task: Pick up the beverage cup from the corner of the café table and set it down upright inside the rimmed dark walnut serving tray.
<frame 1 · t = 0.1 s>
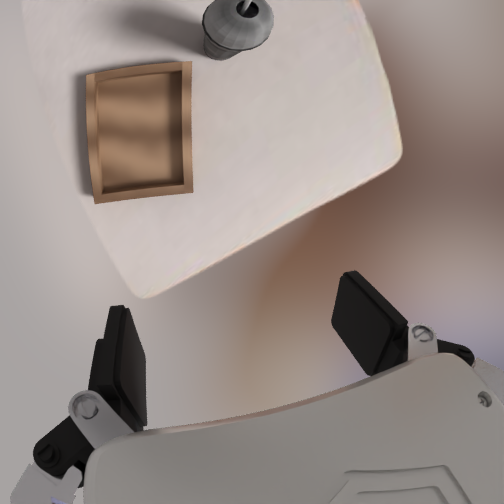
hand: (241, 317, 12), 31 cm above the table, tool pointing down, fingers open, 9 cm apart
beverage cup: (219, 46, 31), on the table
walnut tray: (140, 130, 33), on the table
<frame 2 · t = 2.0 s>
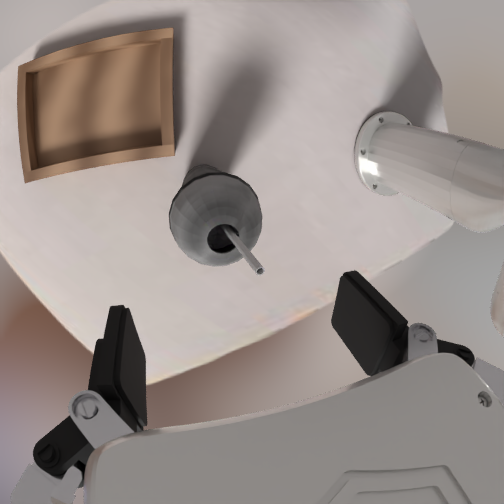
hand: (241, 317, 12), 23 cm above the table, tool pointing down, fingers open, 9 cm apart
beverage cup: (203, 183, 32), on the table
walnut tray: (94, 103, 24), on the table
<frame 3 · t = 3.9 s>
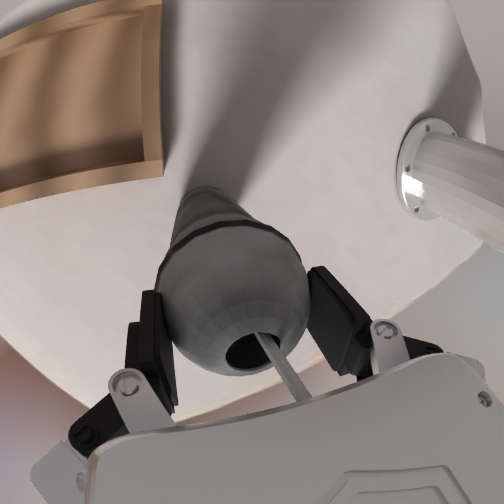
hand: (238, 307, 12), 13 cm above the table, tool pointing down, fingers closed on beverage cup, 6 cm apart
beverage cup: (204, 211, 23), on the table, touching gripper
walnut tray: (53, 103, 15), on the table
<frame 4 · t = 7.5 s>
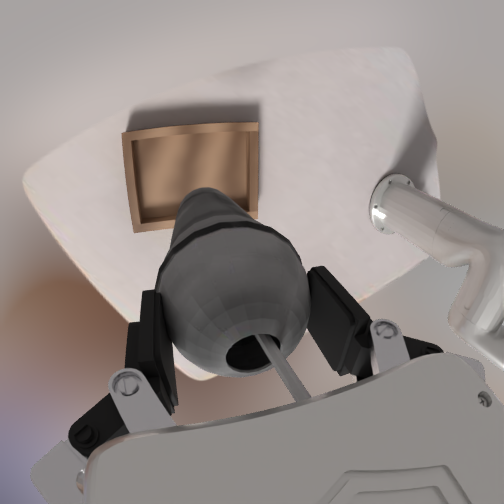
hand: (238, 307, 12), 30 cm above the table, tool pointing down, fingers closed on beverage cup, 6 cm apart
beverage cup: (204, 212, 23), point 18 cm above the table, touching gripper
walnut tray: (191, 172, 38), on the table
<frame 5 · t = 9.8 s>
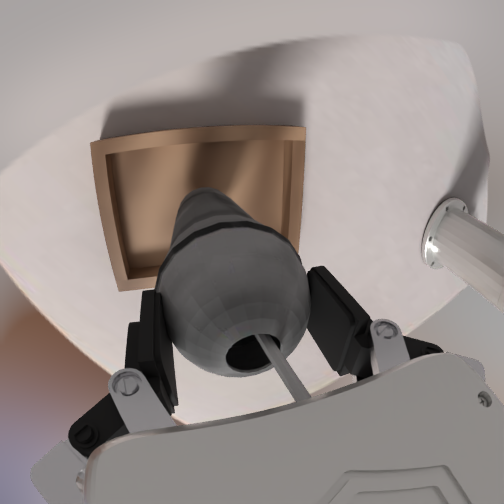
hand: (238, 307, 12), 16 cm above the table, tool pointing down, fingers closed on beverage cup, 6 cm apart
beverage cup: (204, 212, 23), point 3 cm above the table, touching gripper
walnut tray: (200, 200, 26), on the table
when the fingers open (15 cm above the table, at t = 11.1 s): beverage cup drops 1 cm, resting on walnut tray.
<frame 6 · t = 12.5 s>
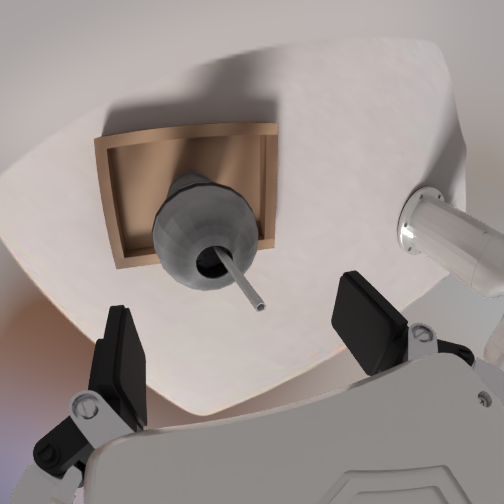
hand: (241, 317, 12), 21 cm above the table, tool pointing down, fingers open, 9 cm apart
beverage cup: (190, 191, 29), point 1 cm above the table, touching walnut tray
walnut tray: (188, 188, 29), on the table
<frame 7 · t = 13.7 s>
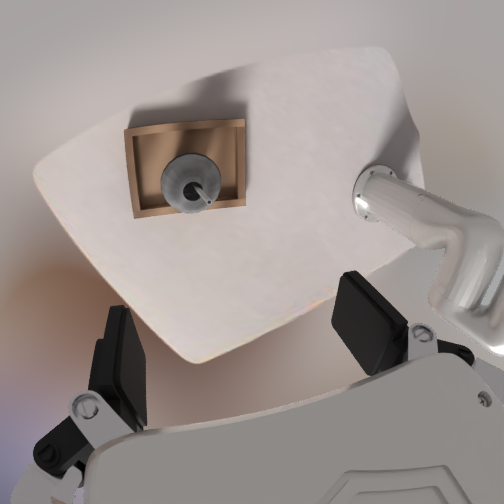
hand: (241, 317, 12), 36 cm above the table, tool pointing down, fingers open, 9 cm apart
beverage cup: (187, 165, 42), point 1 cm above the table, touching walnut tray
walnut tray: (185, 164, 42), on the table
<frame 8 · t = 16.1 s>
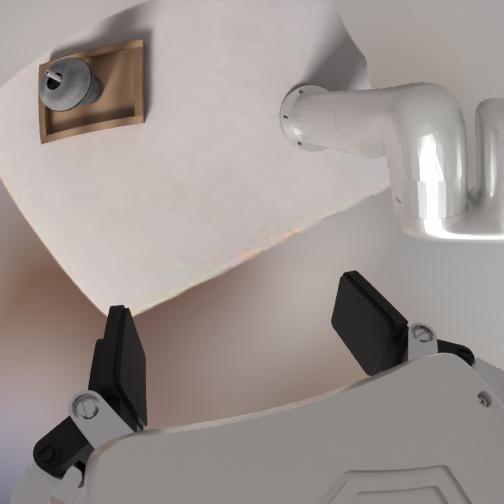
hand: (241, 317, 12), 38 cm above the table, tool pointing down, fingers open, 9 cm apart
beverage cup: (91, 91, 33), point 1 cm above the table, touching walnut tray
walnut tray: (91, 91, 34), on the table
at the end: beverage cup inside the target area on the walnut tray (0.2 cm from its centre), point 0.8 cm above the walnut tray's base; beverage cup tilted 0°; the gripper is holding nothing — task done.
